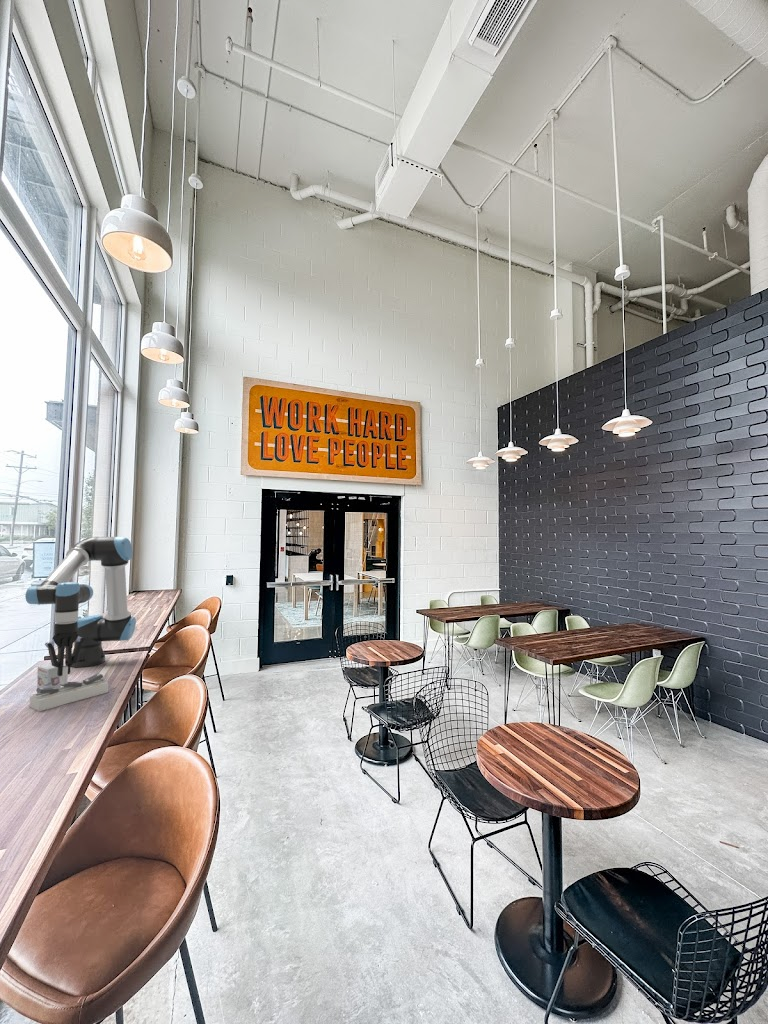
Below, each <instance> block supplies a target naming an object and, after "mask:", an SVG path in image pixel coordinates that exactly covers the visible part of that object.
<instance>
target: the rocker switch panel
mask: <svg viewBox="0 0 768 1024" xmlns="http://www.w3.org/2000/svg"><path fill="white" fill-rule="evenodd" d="M80 683H82V686H81V687H63V686H61V688H57V689H59V691H58V692H57V693H34V694H31V695H29V707H30V708H31V709H33V710H35V711H37V712H41V711H45V710H49V709H52V708H56V707H58V706H59V707H60V706H63V705H67V704H70V703H73V702H77V701H78V702H79V701H80V700H84V699H87V698H92V697H96V696H98V695H102V694H106V693H109V681H107V679H104V678H101V679H99V680H97V681H95V682H93V683H91V684H89V685H87V684H84V683H83V681H82V682H80Z"/></svg>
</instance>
